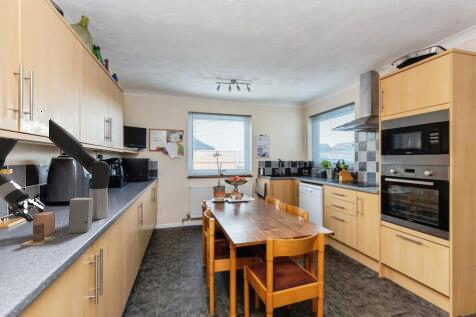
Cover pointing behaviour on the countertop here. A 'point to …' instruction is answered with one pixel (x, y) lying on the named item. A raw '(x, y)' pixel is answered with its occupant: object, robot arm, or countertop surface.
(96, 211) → the robot arm
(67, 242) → the countertop surface
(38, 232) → the wooden peg stand
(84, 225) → the skincare box
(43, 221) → the tan rectangular prism
